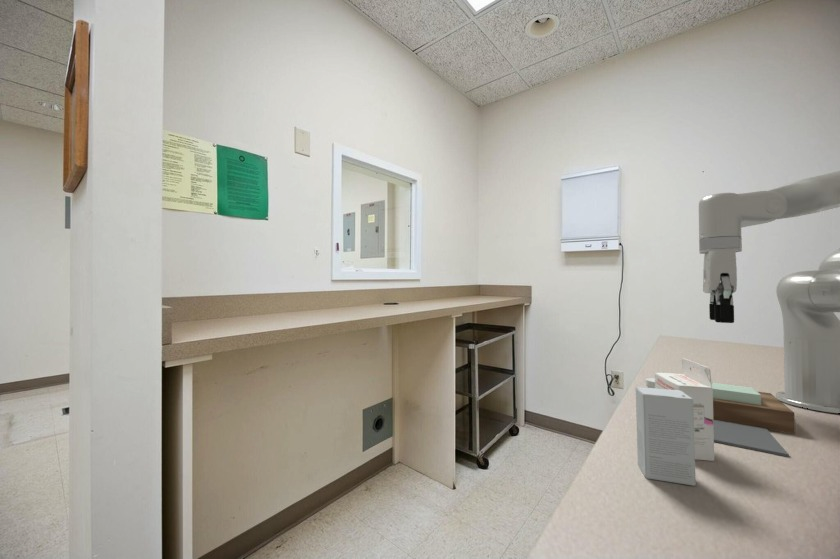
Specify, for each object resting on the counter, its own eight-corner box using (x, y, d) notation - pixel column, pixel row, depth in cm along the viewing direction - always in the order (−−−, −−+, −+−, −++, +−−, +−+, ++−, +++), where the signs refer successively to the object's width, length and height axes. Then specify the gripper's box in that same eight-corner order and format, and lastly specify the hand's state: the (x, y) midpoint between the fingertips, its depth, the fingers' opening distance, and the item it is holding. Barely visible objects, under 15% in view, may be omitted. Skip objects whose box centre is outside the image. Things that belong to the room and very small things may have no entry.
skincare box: (683, 471, 49) (681, 389, 49) (696, 487, 45) (695, 398, 45) (635, 463, 51) (634, 385, 51) (644, 478, 47) (643, 393, 47)
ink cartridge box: (653, 435, 61) (652, 355, 61) (684, 438, 60) (682, 356, 60) (680, 459, 52) (678, 366, 53) (716, 462, 51) (714, 367, 52)
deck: (679, 397, 82) (679, 381, 82) (770, 411, 73) (770, 393, 73) (685, 415, 71) (685, 396, 71) (794, 434, 62) (794, 412, 62)
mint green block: (704, 390, 75) (703, 381, 75) (752, 397, 71) (752, 387, 71) (708, 397, 70) (708, 388, 70) (761, 405, 66) (760, 395, 66)
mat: (680, 415, 70) (680, 413, 70) (766, 430, 63) (766, 428, 63) (686, 436, 61) (686, 434, 61) (789, 457, 53) (789, 454, 53)
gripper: (694, 250, 88) (695, 317, 88) (704, 243, 74) (706, 323, 73) (732, 249, 84) (734, 319, 83) (751, 240, 70) (753, 325, 69)
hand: (721, 320), depth 78 cm, fingers open, 6 cm apart
